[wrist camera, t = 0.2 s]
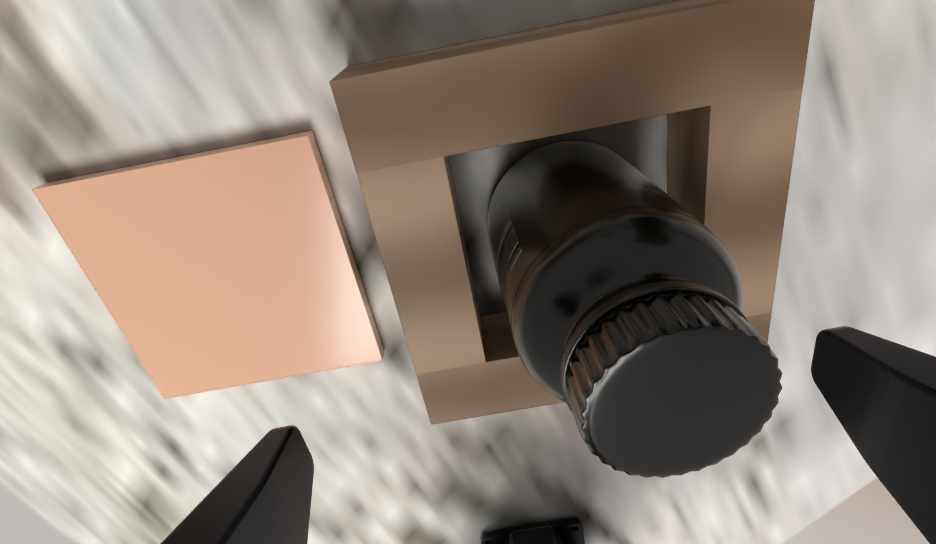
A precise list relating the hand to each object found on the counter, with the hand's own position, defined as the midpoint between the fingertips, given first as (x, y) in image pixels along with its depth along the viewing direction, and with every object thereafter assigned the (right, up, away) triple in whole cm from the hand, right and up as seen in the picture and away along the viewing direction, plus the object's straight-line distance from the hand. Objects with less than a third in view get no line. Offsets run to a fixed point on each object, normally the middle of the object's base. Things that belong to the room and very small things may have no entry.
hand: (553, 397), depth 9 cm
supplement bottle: (+3, +5, +14) cm, 15 cm away
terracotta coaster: (-12, +2, +14) cm, 19 cm away
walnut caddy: (+3, +5, +13) cm, 14 cm away
